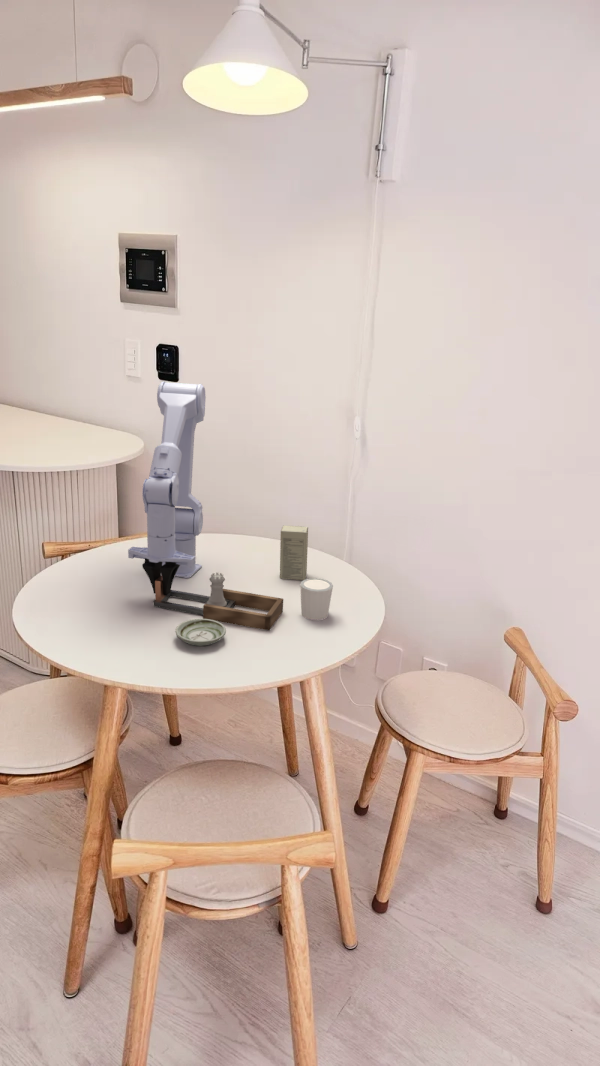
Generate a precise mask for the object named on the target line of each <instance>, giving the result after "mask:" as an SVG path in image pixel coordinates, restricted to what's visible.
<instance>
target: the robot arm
mask: <svg viewBox="0 0 600 1066" xmlns="http://www.w3.org/2000/svg"><path fill="white" fill-rule="evenodd" d="M206 396H207V395H206V388H205V386H204V385H203V383H181V382H168V381H161V382H160V383H159V385H158V387H157V393H156V401H157V406H158V408H159V410H160V414H161V415H162V416H163V424H162V431H161V444H159V445H157V446H156V447H155V448H154V450H153V455H152V461H151V464H150V465H151V466H150V471H149V477H148V478H145V479H144V481H143V484H142V501H143V507H144V513H146V527H147V528H146V529H147V531H146V535H147V536H146V537H147V539H146V540H147V547H145V546H144V547H140V546H139V547H138V546H132V547H130V548H128V549H127V555H128V556H127V558H128V559H134V558H135V559H142V560H144V562H143V563H142V569H143V570H144V572H145V574H146V575H147V578H148V580H149V582H150V584H151V588H152V591H153V594H154V595H155V580H157V579H158V578H159V577H160V576H162V578H163V594H164V595H166V596H167V595H168V594H169V593H170V592H171V590H172V586H173V582H174V579H175V577H179V578H185V579H190V578H191V577H192V576H193V575H194V574H196V572H198V571H199V570H200V569H201V568H202V567H203V565H202V564H201V563H197V562H196V559H197V556H196V554H197V551H196V550H197V547H196V546H197V544H196V543H197V539H196V538H197V536H199V535H201V533H202V530H203V523H204V522H203V521H204V515H203V505H202V502H201V501H200V500H199V499H198V498H196V497H195V496H194V495H193V494H192V484H193V483H192V482H193V466H194V465H193V463H194V448H195V444H194V443H195V431H196V426H197V425H198V424H199V423H200V422H203V421H204V417H205V414H206V413H205V412H206V398H207V397H206ZM182 507H183V508H182Z"/></svg>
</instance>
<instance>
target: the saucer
mask: <svg viewBox="0 0 600 1066" xmlns="http://www.w3.org/2000/svg"><path fill="white" fill-rule="evenodd" d="M174 632H175V635H176V636H177V637H178V638H179V639H180V640H181V641H183V642H184V643H187V644H189V645H192V646H196V647H203V646H204V647H206V646H209V645H212V644H215V643H217V642H219V641H220V640H221V639H222V638H224V637H225V636H226V633H227V628H226V627H225V625H224V623H222V622H218V621H215V620H210V619H203V618H193V619H187V620H185V621H182V622H180V623H179V624H177V626H176V628H175V631H174Z"/></svg>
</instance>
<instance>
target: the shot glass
mask: <svg viewBox="0 0 600 1066" xmlns="http://www.w3.org/2000/svg"><path fill="white" fill-rule="evenodd" d="M299 587H300V608H301V609H300V610H301V616H302V617H303V618H305V619H307V620H311V621H321V620H325V619H326V617H327V618H328V616H329V609H330V606H331V601H332V600H331V598H332V594H333V587H334V585H333V583H332V582H331V581H329V580H326V579H324V578H318V577H315V578H306V579H305V580H301V582H300V583H299Z"/></svg>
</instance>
